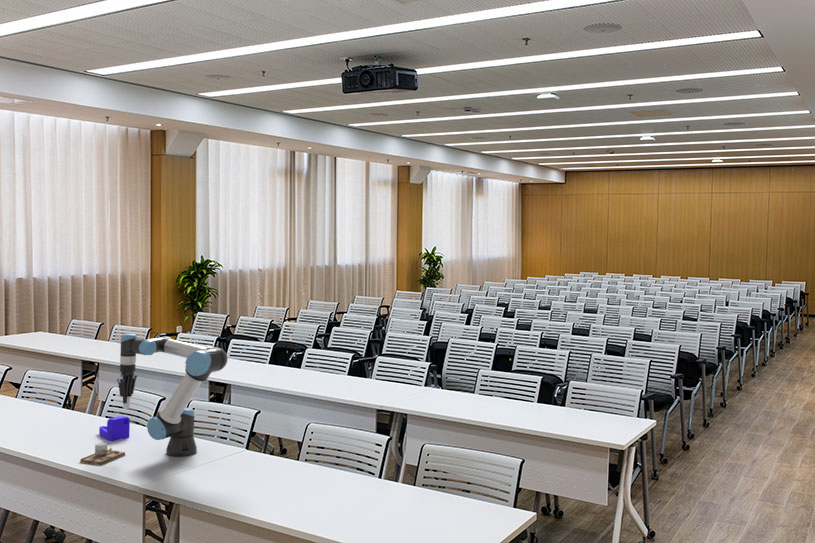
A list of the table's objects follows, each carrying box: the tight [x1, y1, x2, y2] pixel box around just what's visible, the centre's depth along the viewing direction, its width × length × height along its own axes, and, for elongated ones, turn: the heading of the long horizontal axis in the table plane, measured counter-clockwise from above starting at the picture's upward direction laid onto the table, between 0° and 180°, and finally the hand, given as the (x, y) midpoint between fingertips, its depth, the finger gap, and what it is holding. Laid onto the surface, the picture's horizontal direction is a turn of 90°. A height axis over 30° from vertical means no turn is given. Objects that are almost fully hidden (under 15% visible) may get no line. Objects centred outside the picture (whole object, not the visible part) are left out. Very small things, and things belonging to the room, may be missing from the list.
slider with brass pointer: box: [94, 442, 115, 456], centre depth 359 cm, size 9×4×5 cm, turn 75°
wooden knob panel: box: [79, 450, 126, 466], centre depth 358 cm, size 12×18×3 cm, turn 165°
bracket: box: [98, 415, 131, 442], centre depth 399 cm, size 18×11×12 cm, turn 57°
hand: (126, 409), depth 371 cm, fingers closed
